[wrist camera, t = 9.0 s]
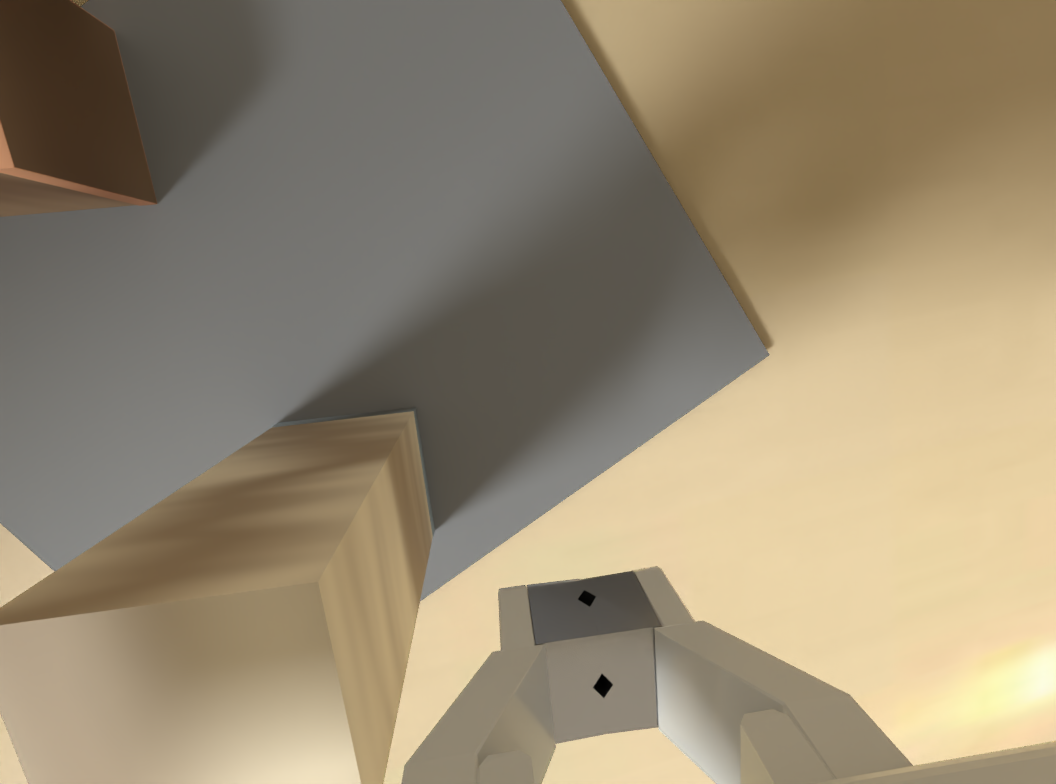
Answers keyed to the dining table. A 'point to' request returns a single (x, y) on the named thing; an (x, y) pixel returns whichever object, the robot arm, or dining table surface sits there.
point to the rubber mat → (357, 268)
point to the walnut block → (65, 114)
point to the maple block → (234, 621)
